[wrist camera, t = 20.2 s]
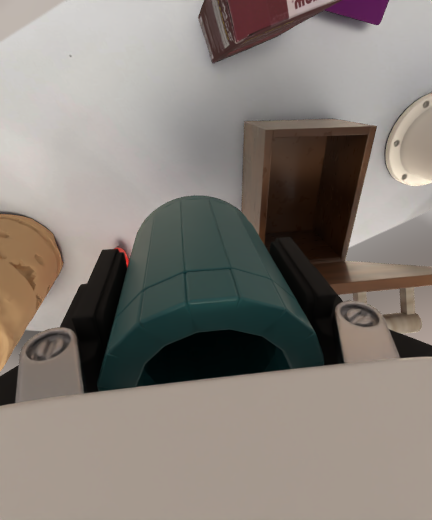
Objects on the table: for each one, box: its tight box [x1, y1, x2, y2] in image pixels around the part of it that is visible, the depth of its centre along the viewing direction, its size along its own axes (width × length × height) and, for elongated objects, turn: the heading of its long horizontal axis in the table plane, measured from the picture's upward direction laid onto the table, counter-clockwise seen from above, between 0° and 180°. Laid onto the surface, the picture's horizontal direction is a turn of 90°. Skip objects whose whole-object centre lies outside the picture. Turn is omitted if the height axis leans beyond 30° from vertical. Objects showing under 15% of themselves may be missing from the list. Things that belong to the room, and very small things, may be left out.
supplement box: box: [198, 0, 342, 63], centre depth 26 cm, size 9×5×16 cm, turn 110°
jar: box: [97, 196, 324, 392], centre depth 10 cm, size 6×6×7 cm
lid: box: [312, 261, 432, 334], centre depth 30 cm, size 17×12×5 cm
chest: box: [241, 119, 377, 264], centre depth 39 cm, size 17×12×10 cm
